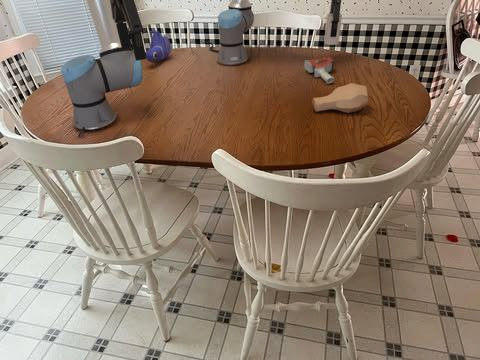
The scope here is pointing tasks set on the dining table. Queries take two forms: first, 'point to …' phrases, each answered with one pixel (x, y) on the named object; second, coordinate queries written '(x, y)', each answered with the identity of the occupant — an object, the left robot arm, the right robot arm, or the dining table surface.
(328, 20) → the can
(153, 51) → the toy
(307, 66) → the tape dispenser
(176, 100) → the dining table surface
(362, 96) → the squash
